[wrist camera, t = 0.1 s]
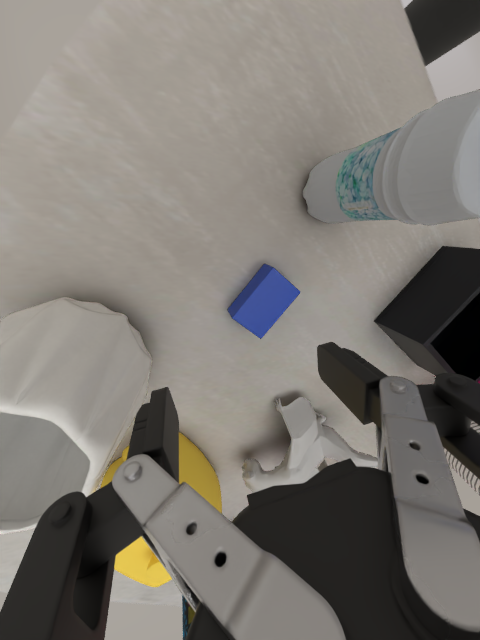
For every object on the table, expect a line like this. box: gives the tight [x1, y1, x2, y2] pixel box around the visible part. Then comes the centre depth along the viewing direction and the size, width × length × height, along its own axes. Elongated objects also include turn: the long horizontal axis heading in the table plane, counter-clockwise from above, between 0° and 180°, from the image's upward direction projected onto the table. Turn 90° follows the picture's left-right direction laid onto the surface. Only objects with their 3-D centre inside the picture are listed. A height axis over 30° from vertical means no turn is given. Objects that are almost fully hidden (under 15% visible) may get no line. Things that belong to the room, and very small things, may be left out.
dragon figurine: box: [242, 397, 378, 492], centre depth 36 cm, size 15×15×9 cm
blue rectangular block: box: [227, 264, 300, 339], centre depth 29 cm, size 7×4×3 cm, turn 140°
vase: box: [0, 297, 152, 535], centre depth 20 cm, size 14×14×15 cm
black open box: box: [374, 246, 480, 382], centre depth 34 cm, size 13×13×8 cm
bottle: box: [303, 89, 480, 225], centre depth 18 cm, size 7×7×20 cm
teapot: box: [100, 432, 222, 587], centre depth 31 cm, size 20×12×12 cm, turn 27°
